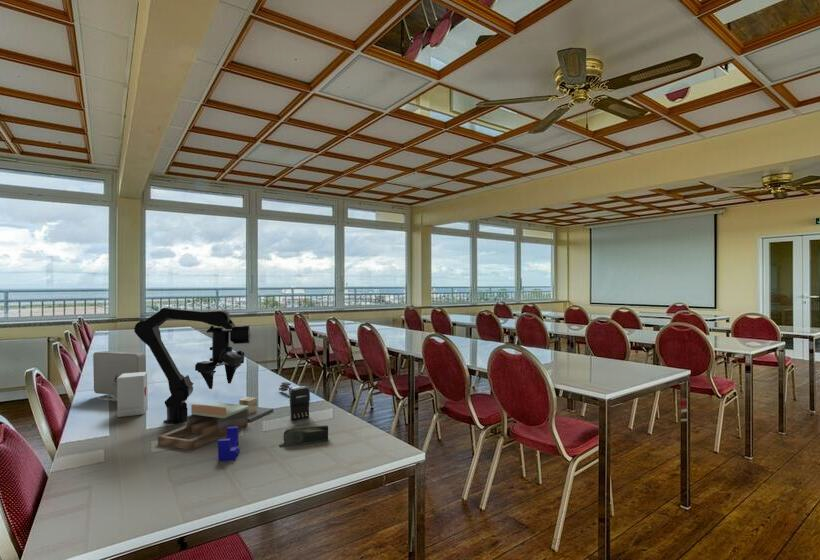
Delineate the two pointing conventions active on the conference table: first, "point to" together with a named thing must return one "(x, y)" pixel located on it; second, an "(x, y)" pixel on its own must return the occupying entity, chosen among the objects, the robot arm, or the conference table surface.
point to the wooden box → (202, 430)
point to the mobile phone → (305, 435)
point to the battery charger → (299, 403)
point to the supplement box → (132, 394)
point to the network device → (114, 370)
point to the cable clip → (229, 445)
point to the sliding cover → (217, 409)
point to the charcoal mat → (258, 413)
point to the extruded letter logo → (285, 387)
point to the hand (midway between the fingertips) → (220, 386)
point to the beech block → (249, 404)
